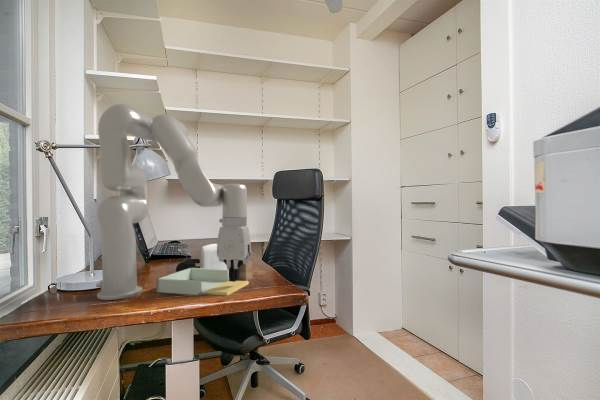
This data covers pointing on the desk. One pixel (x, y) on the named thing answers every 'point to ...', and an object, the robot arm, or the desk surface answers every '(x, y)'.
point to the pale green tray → (192, 281)
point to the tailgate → (227, 288)
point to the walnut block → (246, 271)
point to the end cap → (187, 264)
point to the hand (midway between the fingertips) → (234, 280)
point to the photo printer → (211, 258)
